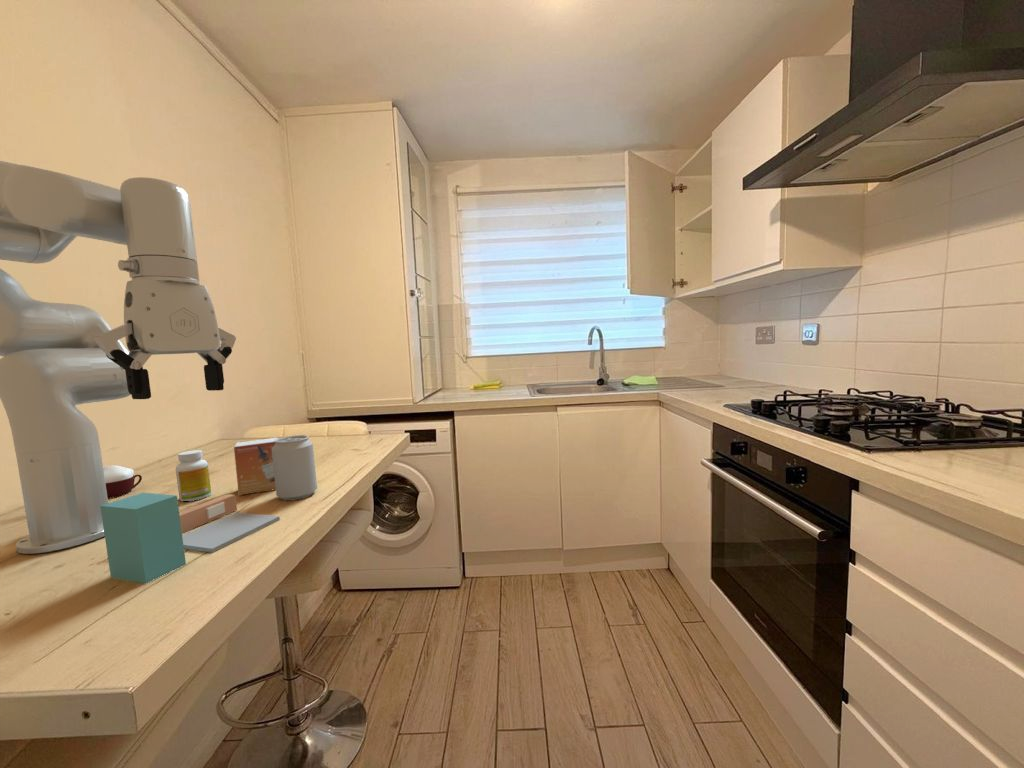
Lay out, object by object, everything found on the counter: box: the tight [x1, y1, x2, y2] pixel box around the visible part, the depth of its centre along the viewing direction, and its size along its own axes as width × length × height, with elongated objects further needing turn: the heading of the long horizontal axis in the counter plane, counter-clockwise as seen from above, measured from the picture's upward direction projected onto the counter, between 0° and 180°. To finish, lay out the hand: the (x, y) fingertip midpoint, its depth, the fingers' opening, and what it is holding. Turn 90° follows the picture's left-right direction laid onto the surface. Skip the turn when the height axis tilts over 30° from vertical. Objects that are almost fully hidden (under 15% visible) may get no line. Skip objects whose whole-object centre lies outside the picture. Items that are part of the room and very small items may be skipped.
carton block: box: [100, 492, 187, 584], centre depth 58 cm, size 7×5×10 cm
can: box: [271, 434, 318, 501], centre depth 86 cm, size 8×8×12 cm
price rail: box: [179, 493, 238, 534], centre depth 73 cm, size 2×16×3 cm, turn 162°
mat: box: [182, 511, 281, 554], centre depth 70 cm, size 10×12×1 cm
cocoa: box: [103, 465, 143, 498], centre depth 94 cm, size 10×6×12 cm, turn 128°
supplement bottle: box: [175, 449, 212, 502], centre depth 89 cm, size 5×5×10 cm
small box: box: [233, 436, 279, 496], centre depth 92 cm, size 8×6×10 cm
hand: (181, 394), depth 62 cm, fingers open, 9 cm apart
